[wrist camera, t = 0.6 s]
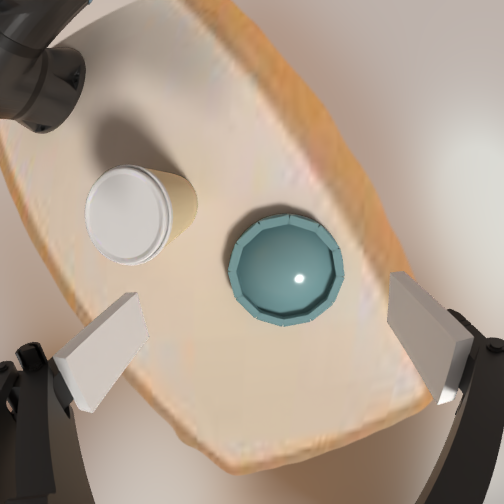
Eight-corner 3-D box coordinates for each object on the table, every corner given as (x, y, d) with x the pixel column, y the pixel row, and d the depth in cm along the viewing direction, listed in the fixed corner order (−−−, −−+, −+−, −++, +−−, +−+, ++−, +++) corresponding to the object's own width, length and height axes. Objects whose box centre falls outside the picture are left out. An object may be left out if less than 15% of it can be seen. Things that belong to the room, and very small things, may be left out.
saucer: (207, 266, 37) (204, 269, 35) (290, 189, 34) (290, 189, 32) (281, 339, 38) (281, 345, 37) (363, 273, 35) (366, 277, 34)
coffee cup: (136, 169, 35) (80, 169, 23) (205, 166, 34) (167, 160, 22) (138, 239, 37) (86, 264, 25) (205, 241, 36) (170, 271, 25)
